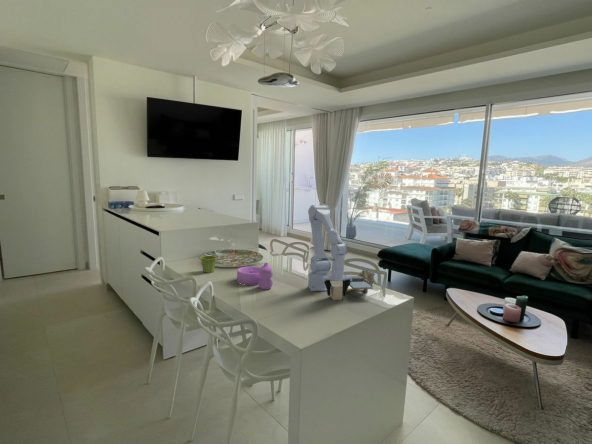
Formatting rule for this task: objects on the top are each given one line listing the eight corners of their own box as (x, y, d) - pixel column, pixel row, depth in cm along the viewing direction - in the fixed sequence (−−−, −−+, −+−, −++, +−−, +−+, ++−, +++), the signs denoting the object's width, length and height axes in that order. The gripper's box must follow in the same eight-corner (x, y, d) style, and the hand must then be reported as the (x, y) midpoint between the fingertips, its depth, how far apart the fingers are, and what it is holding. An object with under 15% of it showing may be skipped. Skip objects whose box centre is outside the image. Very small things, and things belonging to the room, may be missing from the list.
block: (333, 299, 155) (333, 287, 155) (330, 296, 160) (330, 284, 159) (341, 299, 156) (342, 287, 155) (338, 296, 161) (339, 284, 160)
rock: (362, 287, 172) (365, 269, 174) (353, 285, 177) (356, 267, 179) (377, 291, 178) (380, 273, 180) (368, 289, 184) (371, 272, 185)
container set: (231, 279, 179) (232, 256, 178) (254, 275, 189) (255, 253, 188) (257, 292, 160) (258, 266, 159) (281, 287, 170) (282, 262, 169)
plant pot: (199, 270, 195) (199, 256, 194) (214, 269, 199) (215, 255, 198) (201, 274, 187) (201, 259, 185) (217, 273, 191) (218, 258, 189)
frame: (343, 293, 165) (344, 280, 164) (340, 290, 170) (341, 277, 169) (367, 292, 167) (368, 280, 167) (363, 289, 172) (364, 277, 172)
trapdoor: (353, 292, 156) (353, 284, 156) (342, 282, 170) (343, 276, 170) (372, 291, 158) (372, 284, 158) (360, 282, 172) (361, 275, 172)
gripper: (325, 270, 151) (324, 298, 152) (355, 270, 154) (353, 297, 155) (321, 266, 158) (320, 293, 159) (349, 266, 160) (348, 292, 162)
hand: (336, 295), depth 158 cm, fingers open, 7 cm apart
